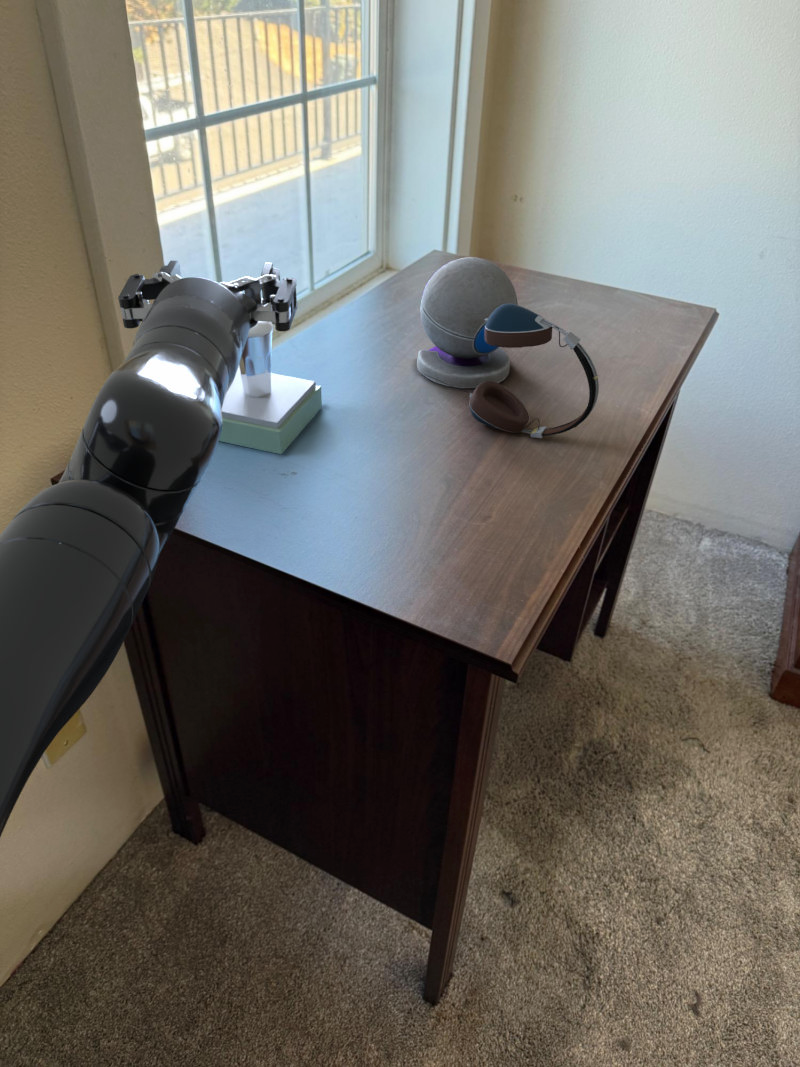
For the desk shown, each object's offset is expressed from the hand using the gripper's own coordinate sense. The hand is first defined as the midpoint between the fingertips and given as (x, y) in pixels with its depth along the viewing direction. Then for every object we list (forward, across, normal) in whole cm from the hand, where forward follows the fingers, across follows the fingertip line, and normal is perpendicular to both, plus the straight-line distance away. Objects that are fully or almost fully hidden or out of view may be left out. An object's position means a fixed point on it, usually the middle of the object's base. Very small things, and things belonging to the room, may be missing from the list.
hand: (223, 272), depth 69 cm
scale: (+11, 0, -22) cm, 25 cm away
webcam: (+27, +27, -22) cm, 44 cm away
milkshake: (+11, 0, -18) cm, 21 cm away
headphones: (+11, +30, -22) cm, 39 cm away
